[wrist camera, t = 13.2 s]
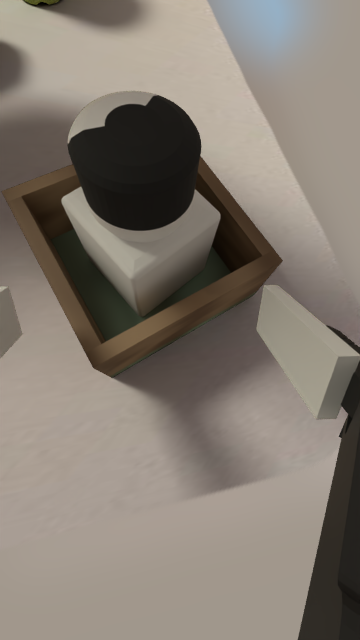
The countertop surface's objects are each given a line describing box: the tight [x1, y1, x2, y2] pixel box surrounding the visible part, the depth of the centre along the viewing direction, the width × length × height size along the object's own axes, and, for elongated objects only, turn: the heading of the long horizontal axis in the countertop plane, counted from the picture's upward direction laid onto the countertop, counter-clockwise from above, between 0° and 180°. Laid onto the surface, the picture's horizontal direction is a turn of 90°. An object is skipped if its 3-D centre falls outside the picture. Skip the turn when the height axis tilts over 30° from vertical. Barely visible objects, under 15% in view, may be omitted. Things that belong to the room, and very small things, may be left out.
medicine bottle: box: [61, 91, 220, 317], centre depth 17 cm, size 7×7×12 cm
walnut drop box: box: [1, 156, 283, 378], centre depth 21 cm, size 14×14×6 cm
